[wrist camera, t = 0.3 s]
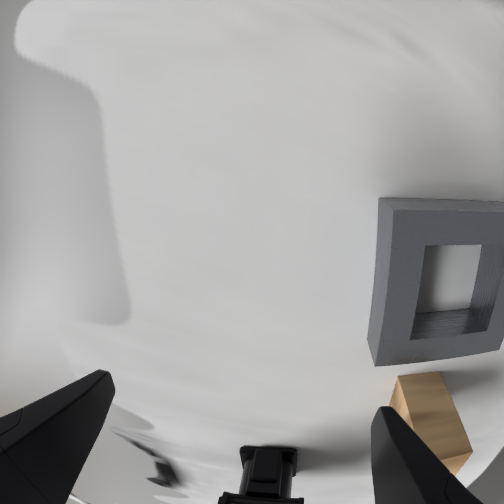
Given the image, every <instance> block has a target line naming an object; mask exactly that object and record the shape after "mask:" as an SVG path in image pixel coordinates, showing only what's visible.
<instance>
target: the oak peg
mask: <svg viewBox="0 0 504 504" xmlns="http://www.w3.org/2000/svg"><path fill="white" fill-rule="evenodd" d="M389 406H391V407H393V408H394V409H395V410H396V412H397V413H398V414H399V415H400V416H401V417H402V418H403V419H404V420H405V422H406V423H407V424H408V425H409V426H410V427H411V428H412V429H413V430H414V432H415V433H416V434H417V435H418V436H419V437H420V438H421V439H422V440H423V442H424V443H425V444H426V445H427V446H428V447H429V448H430V449H431V451H432V452H433V453H434V454H435V455H436V456H437V457H438V458H439V459H440V461H441V462H442V463H443V464H444V465H445V466H446V467H447V468H448V469H449V471H450V473H452V474H453V475H454V476H455V475H456V474H457V473H458V471H459V470H460V469H461V467H462V466H463V465H464V463H465V462H466V461H467V459H468V458H469V457H470V455H471V454H472V452H473V450H472V448H471V445H470V442H469V440H468V437H467V434H466V432H465V429H464V427H463V424H462V422H461V419H460V417H459V415H458V412H457V410H456V408H455V405H454V403H453V401H452V398H451V396H450V394H449V392H448V389H447V387H446V385H445V383H444V381H443V378H442V376H441V374H440V372H439V371H436V372H429V373H422V374H414V375H405V376H398V377H397V381H396V384H395V388H394V391H393V395H392V398H391V401H390V404H389Z"/></svg>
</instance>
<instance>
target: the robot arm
mask: <svg viewBox="0 0 504 504" xmlns="http://www.w3.org/2000/svg"><path fill="white" fill-rule="evenodd" d="M114 395H115V386H114V383H113V380H112V376H111V374H110V372H108V371H104V370H101V369H99V370H97V371H95V372H93V373H91V374H89V375H87V376H85V377H83V378H81V379H79V380H77V381H75V382H73V383H71V384H69V385H67V386H65V387H63V388H61V389H59V390H57V391H55V392H53V393H51V394H49V395H47V396H45V397H43V398H42V399H39V400H37V401H35V402H33V403H31V404H29V405H27V406H25V407H24V408H21V409H19V410H16V411H14V412H12V413H10V414H8V415H5V416H3V417H0V504H65V503H66V501H67V499H68V497H69V495H70V493H71V491H72V488H73V486H74V484H75V482H76V480H77V478H78V476H79V474H80V472H81V469H82V467H83V465H84V463H85V461H86V459H87V457H88V455H89V453H90V451H91V449H92V447H93V445H94V443H95V441H96V439H97V437H98V435H99V433H100V431H101V429H102V427H103V424H104V422H105V419H106V416H107V413H108V411H109V408H110V405H111V403H112V400H113V397H114ZM240 456H241V461H242V466H243V475H242V480H241V485H240V490H239V494H233V493H229V492H224V493H223V496H221V497H219V501H218V504H304V498H291V486H292V477H294V476H296V465H297V450H296V449H274V448H253V447H241V448H240ZM371 463H372V476H373V485H374V495H375V504H483V503H482V502H481V501H480V500H478V499H477V498H476V497H475V496H474V495H473V494H472V493H471V492H470V491H469V490H467V489H466V488H465V487H464V486H463V485H462V483H461V482H460V481H459V480H458V479H457V478H456V477H455V476H454V475H453V474H452V473H450V471H449V469H448V468H447V467H446V466H445V465H444V464H443V463H442V462H441V461H440V459H439V458H438V457H437V456H436V455H435V454H434V453H433V452H432V451H431V449H430V448H429V447H428V446H427V445H426V444H425V443H424V442H423V440H422V439H421V438H420V437H419V436H418V435H417V434H416V433H415V432H414V430H413V429H412V428H411V427H410V426H409V425H408V424H407V423H406V422H405V420H404V419H403V418H402V417H401V416H400V415H399V414H398V413H397V412H396V410H395V409H394V408H393V407H391V406H381V407H379V409H378V410H377V413H376V415H375V417H374V419H373V422H372V425H371Z"/></svg>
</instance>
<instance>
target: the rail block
mask: <svg viewBox="0 0 504 504" xmlns="http://www.w3.org/2000/svg"><path fill="white" fill-rule="evenodd" d="M480 244H482V249H481V255H480V261H479V267H478V272H477V277H476V282H475V286H474V291H473V295H472V299H471V304H470V308H469V309H462V310H452V311H441V312H430V313H417V314H415V311H416V306H417V301H418V295H419V289H420V282H421V276H422V268H423V261H424V253H425V245H480ZM503 338H504V202H493V201H474V200H450V199H414V198H379V203H378V232H377V250H376V264H375V276H374V287H373V297H372V306H371V314H370V322H369V330H368V337H367V340H368V344H369V347H370V351H371V355H372V358H373V362H374V366H375V367H376V366H389V365H399V364H409V363H418V362H427V361H435V360H442V359H449V358H456V357H462V356H468V355H474V354H479V353H485V352H490V351H495V350H499V349H500V346H501V344H502V341H503Z"/></svg>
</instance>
